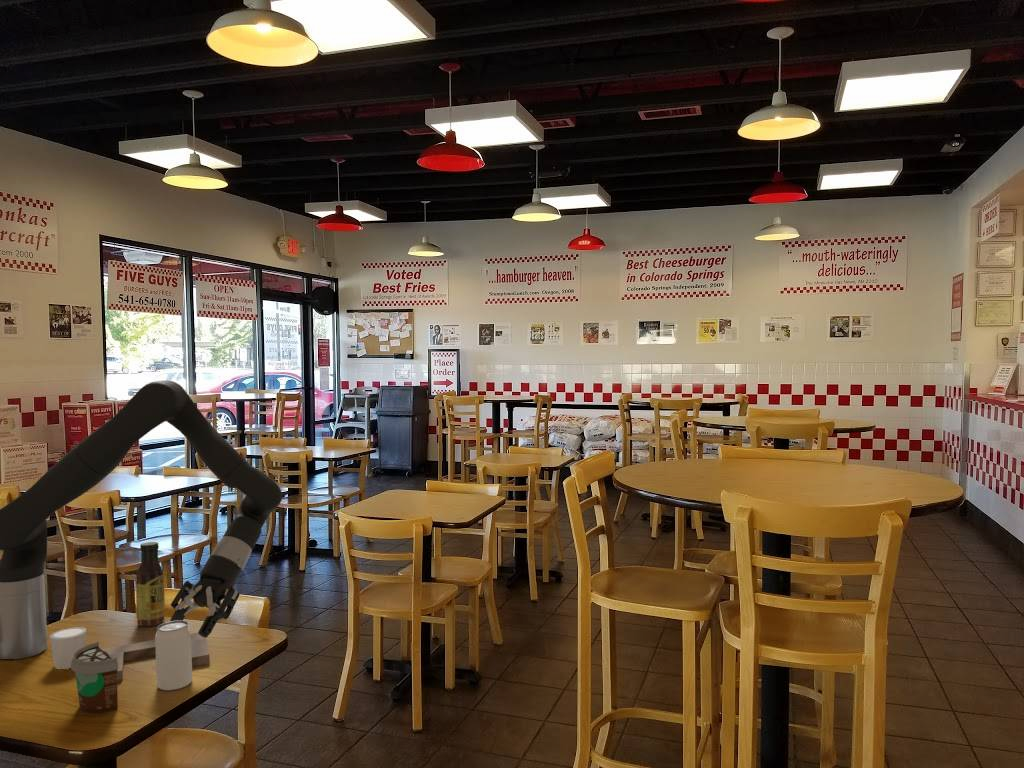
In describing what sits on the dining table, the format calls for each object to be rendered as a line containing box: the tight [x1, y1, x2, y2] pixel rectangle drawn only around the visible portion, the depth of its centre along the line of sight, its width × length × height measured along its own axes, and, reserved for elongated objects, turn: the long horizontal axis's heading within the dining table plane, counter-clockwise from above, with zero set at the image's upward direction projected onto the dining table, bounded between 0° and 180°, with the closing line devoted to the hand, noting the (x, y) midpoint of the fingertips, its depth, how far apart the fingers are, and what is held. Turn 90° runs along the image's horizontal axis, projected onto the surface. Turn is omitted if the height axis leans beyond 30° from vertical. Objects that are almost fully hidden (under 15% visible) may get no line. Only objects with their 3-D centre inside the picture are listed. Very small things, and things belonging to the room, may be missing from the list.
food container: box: [70, 641, 119, 714], centre depth 140 cm, size 12×6×10 cm, turn 45°
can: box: [154, 620, 193, 692], centre depth 149 cm, size 6×6×12 cm
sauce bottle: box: [135, 541, 166, 628], centre depth 184 cm, size 6×6×20 cm
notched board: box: [100, 632, 211, 682], centre depth 161 cm, size 22×15×2 cm
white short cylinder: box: [49, 626, 87, 670], centre depth 160 cm, size 7×7×7 cm
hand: (186, 633), depth 152 cm, fingers open, 8 cm apart
